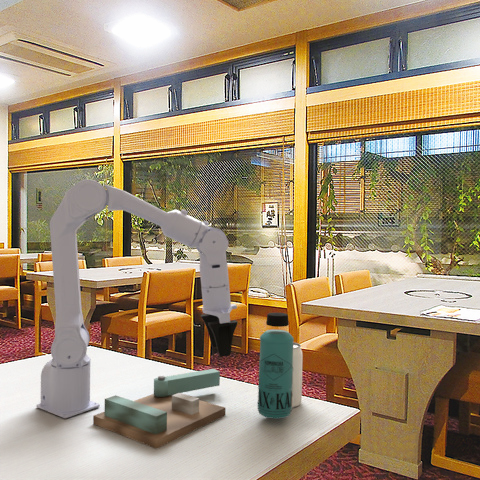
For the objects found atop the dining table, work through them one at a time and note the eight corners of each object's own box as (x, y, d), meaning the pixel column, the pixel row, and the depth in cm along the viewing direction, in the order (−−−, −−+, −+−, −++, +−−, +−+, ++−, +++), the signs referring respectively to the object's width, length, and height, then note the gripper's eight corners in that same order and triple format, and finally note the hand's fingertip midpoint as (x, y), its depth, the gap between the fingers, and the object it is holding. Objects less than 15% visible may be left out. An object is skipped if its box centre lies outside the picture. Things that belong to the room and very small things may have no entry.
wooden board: (93, 423, 89) (93, 399, 89) (164, 397, 104) (164, 375, 104) (156, 448, 80) (157, 421, 80) (225, 415, 94) (225, 391, 94)
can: (300, 410, 98) (301, 349, 97) (267, 407, 99) (268, 347, 99) (302, 399, 104) (304, 342, 104) (272, 396, 105) (273, 340, 105)
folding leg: (157, 397, 98) (157, 380, 98) (151, 393, 100) (151, 376, 100) (220, 385, 106) (220, 369, 106) (212, 381, 109) (213, 366, 108)
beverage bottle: (255, 413, 96) (257, 310, 95) (289, 413, 96) (291, 310, 96) (259, 427, 89) (261, 316, 88) (295, 426, 90) (298, 316, 89)
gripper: (242, 287, 96) (248, 357, 97) (226, 279, 110) (231, 340, 111) (206, 292, 94) (213, 362, 95) (195, 283, 108) (200, 344, 109)
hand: (221, 351), depth 103 cm, fingers open, 7 cm apart
